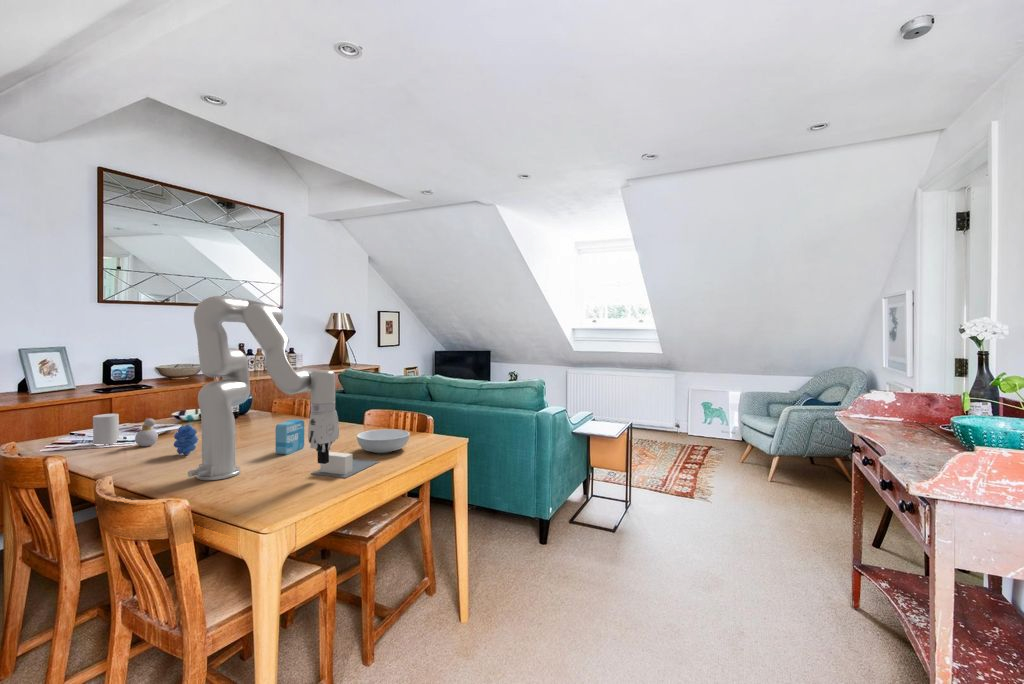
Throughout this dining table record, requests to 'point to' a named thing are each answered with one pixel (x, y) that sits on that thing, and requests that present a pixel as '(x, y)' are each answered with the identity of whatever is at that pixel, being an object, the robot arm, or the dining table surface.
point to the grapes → (185, 439)
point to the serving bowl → (383, 440)
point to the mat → (356, 467)
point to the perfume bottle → (147, 434)
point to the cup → (105, 428)
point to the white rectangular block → (338, 463)
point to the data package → (289, 436)
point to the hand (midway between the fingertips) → (323, 462)
